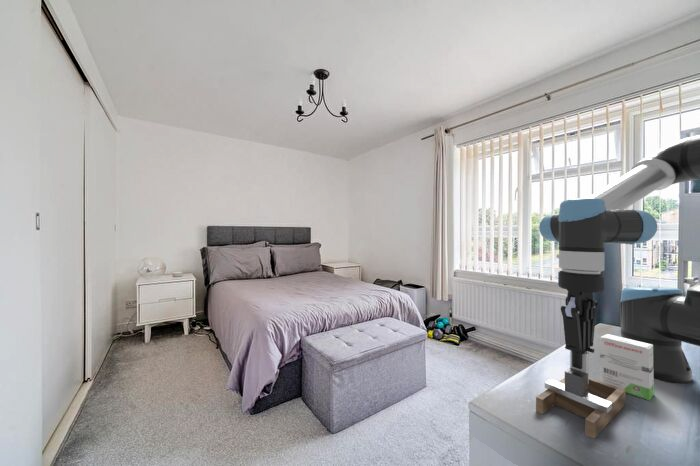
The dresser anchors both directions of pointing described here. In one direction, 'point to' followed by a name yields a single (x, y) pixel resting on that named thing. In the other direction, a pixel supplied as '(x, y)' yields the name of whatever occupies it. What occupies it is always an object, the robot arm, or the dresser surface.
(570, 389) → the bar
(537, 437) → the dresser surface
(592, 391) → the dock
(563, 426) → the dresser surface
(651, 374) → the ink box
